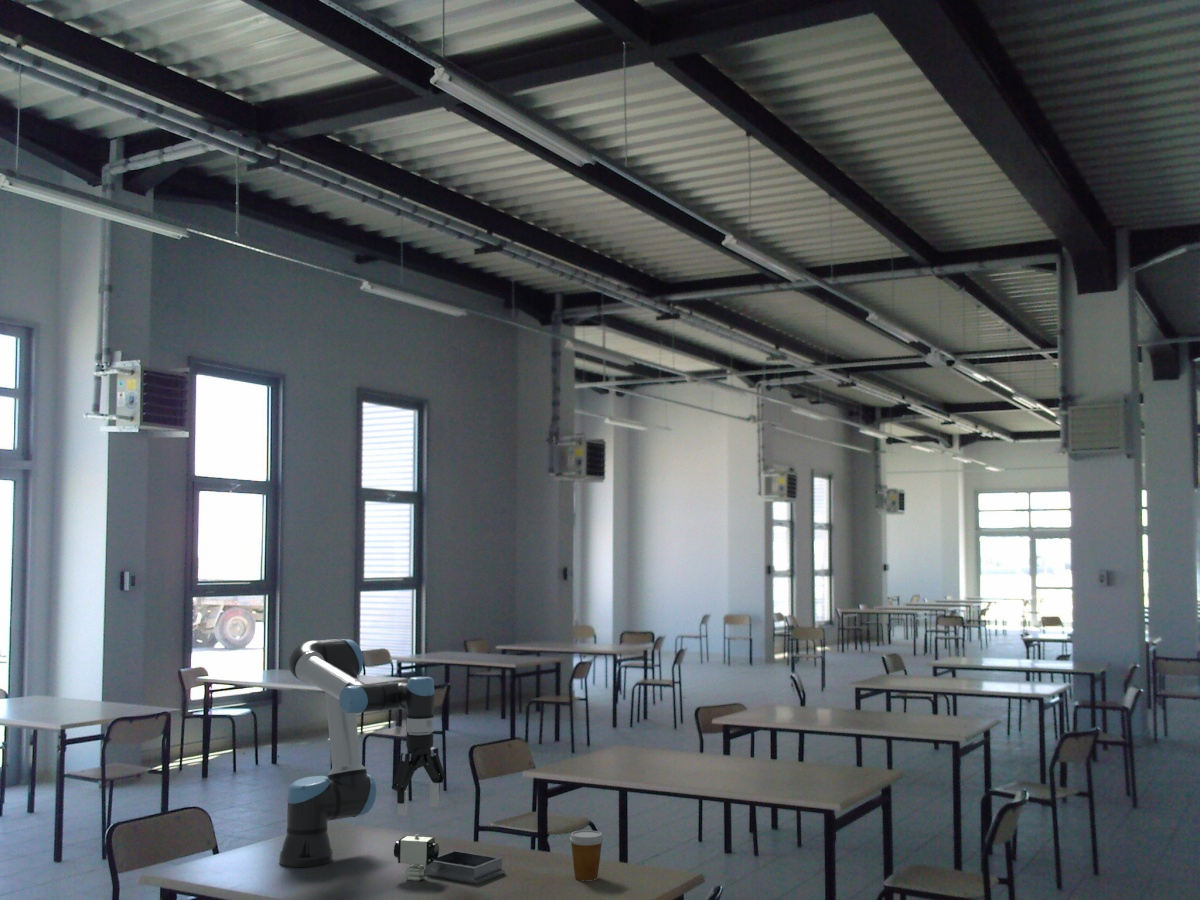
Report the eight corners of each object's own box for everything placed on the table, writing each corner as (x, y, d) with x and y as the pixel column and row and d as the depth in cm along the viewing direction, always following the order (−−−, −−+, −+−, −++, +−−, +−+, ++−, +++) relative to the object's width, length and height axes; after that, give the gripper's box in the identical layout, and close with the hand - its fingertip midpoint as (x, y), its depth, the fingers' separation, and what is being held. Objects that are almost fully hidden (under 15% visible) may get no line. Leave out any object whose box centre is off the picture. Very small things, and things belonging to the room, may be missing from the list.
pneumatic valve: (432, 883, 293) (433, 837, 294) (392, 880, 295) (393, 835, 297) (439, 877, 298) (440, 833, 300) (400, 875, 300) (401, 830, 302)
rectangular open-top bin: (422, 874, 301) (422, 859, 302) (451, 863, 312) (451, 849, 313) (477, 884, 292) (477, 869, 292) (504, 873, 303) (504, 858, 303)
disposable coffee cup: (596, 884, 292) (596, 839, 294) (564, 881, 295) (564, 836, 297) (608, 875, 301) (608, 831, 302) (576, 872, 304) (576, 828, 306)
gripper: (401, 739, 289) (399, 820, 286) (457, 728, 310) (456, 804, 307) (379, 737, 292) (377, 817, 290) (437, 727, 314) (436, 801, 311)
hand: (418, 811), depth 299 cm, fingers open, 13 cm apart
